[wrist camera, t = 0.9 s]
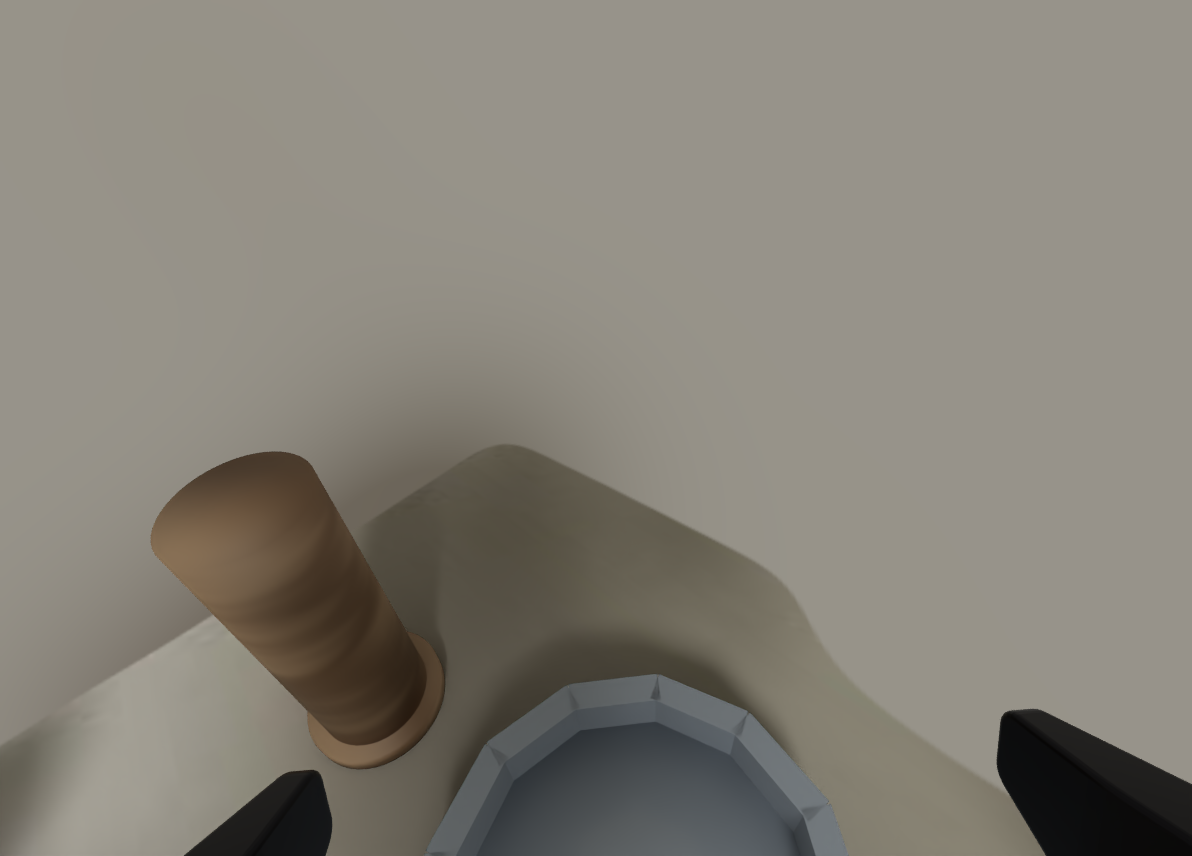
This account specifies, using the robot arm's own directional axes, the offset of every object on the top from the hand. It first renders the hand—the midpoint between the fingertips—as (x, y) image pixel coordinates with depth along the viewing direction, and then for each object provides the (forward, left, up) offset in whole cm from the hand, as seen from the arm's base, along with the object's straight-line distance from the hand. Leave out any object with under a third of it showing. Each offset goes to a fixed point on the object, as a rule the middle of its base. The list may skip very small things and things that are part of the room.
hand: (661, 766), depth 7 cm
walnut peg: (+2, +14, -16) cm, 22 cm away
